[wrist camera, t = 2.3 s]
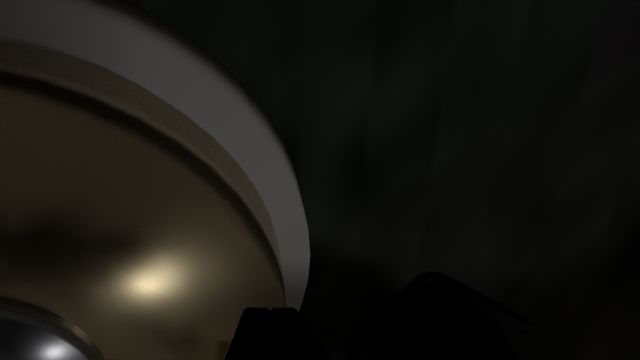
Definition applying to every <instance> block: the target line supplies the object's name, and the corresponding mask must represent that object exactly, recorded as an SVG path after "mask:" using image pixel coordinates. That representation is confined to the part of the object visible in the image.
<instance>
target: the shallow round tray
mask: <svg viewBox="0 0 640 360" xmlns="http://www.w3.org/2000/svg"><path fill="white" fill-rule="evenodd" d="M245 307H267V308H269V310H270V309H271V308H272V307H287V304H286V296H285V289H284V281H283V274H282V266H281V259H280V251H279V244H278V239H277V235H276V232H275V229H274V226H273V223H272V220H271V216H270V214H269V212H268V210H267V208H266V206H265V204H264V202H263V200H262V198H261V196H260V194H259V192H258V190H257V189H256V187H255V186H254V184H253V183H252V182H251V180H250V179H249V177H248V176H247V175H246V173H245V172H244V170H243V169H242V168H241V166H240V165H239V163H238V162H237V161H236V160H235V159H234V158H233V157H232V156H231V155H230V154H229V153H228V152H227V151H226V150H225V149H224V148H223V147H222V146H221V145H220V143H219V142H218V141H217V140H216V139H215V138H214V137H212V136H211V135H210V134H209V133H208V132H206V131H205V130H204V129H203V128H201V127H200V126H199V125H198V124H197V123H195V122H194V121H193V120H192V119H190V118H189V117H188V116H187V115H185V114H184V113H183V112H181V111H180V110H178V109H176V108H175V107H173V106H172V105H170V104H169V103H167V102H165V101H164V100H162V99H161V98H159V97H158V96H156V95H154V94H153V93H151V92H150V91H148V90H146V89H144V88H142V87H140V86H138V85H136V84H134V83H132V82H130V81H128V80H125V79H123V78H121V77H119V76H117V75H115V74H113V73H111V72H109V71H107V70H104V69H102V68H99V67H96V66H93V65H91V64H88V63H85V62H82V61H79V60H77V59H74V58H71V57H68V56H66V55H63V54H60V53H56V52H52V51H48V50H44V49H39V48H35V47H31V46H27V45H23V44H19V43H15V42H11V41H4V40H0V360H223V359H224V356H225V354H226V351H227V349H228V346H229V344H230V341H231V339H232V336H233V334H234V331H235V329H236V326H237V324H238V321H239V319H240V316H241V314H242V312H243V309H244V308H245Z"/></svg>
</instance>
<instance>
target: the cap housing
mask: <svg viewBox="0 0 640 360" xmlns="http://www.w3.org/2000/svg"><path fill="white" fill-rule="evenodd" d="M0 40H4V41H11V42H15V43H19V44H23V45H27V46H31V47H35V48H39V49H44V50H48V51H52V52H56V53H60V54H63V55H66V56H68V57H71V58H74V59H77V60H79V61H82V62H85V63H88V64H91V65H93V66H96V67H99V68H102V69H104V70H107V71H109V72H111V73H113V74H115V75H117V76H119V77H121V78H123V79H125V80H128V81H130V82H132V83H134V84H136V85H138V86H140V87H142V88H144V89H146V90H148V91H150V92H151V93H153V94H154V95H156V96H158V97H159V98H161V99H162V100H164V101H165V102H167V103H169V104H170V105H172V106H173V107H175V108H176V109H178V110H180V111H181V112H183V113H184V114H185V115H187V116H188V117H189V118H190V119H192V120H193V121H194V122H195V123H197V124H198V125H199V126H200V127H201V128H203V129H204V130H205V131H206V132H208V133H209V134H210V135H211V136H212V137H214V138H215V139H216V140H217V141H218V142H219V143H220V145H221V146H222V147H223V148H224V149H225V150H226V151H227V152H228V153H229V154H230V155H231V156H232V157H233V158H234V159H235V160H236V161H237V162H238V163H239V165H240V166H241V168H242V169H243V170H244V172H245V173H246V175H247V176H248V177H249V179H250V180H251V182H252V183H253V184H254V186H255V187H256V189H257V190H258V192H259V194H260V196H261V198H262V200H263V202H264V204H265V206H266V208H267V210H268V212H269V214H270V216H271V220H272V223H273V226H274V229H275V232H276V235H277V239H278V244H279V251H280V259H281V266H282V274H283V281H284V289H285V296H286V304H287V307H294V308H295V309H296V310H297V311H299V309H300V307H301V305H302V301H303V298H304V294H305V290H306V286H307V282H308V275H309V263H310V247H309V236H308V226H307V222H306V217H305V212H304V207H303V203H302V198H301V193H300V189H299V185H298V182H297V178H296V174H295V170H294V166H293V164H292V161H291V159H290V157H289V154H288V152H287V150H286V148H285V145H284V143H283V141H282V138H281V136H280V135H279V133H278V132H277V130H276V129H275V127H274V125H273V124H272V122H271V121H270V119H269V117H268V116H267V114H266V113H265V111H264V109H263V108H262V107H261V106H260V104H259V103H258V102H257V101H256V100H255V99H254V97H253V96H252V95H251V94H250V93H249V91H248V90H247V89H246V88H245V87H244V85H243V84H242V83H241V82H240V81H239V80H238V79H237V78H236V77H235V76H234V75H233V74H232V73H231V72H230V71H228V70H227V69H226V68H225V67H224V66H223V65H222V64H221V63H220V62H219V61H218V60H216V59H215V58H214V57H213V56H212V55H211V54H210V53H208V52H207V51H206V50H204V49H203V48H201V47H200V46H199V45H197V44H196V43H195V42H193V41H192V40H190V39H189V38H188V37H186V36H185V35H183V34H182V33H181V32H179V31H178V30H176V29H175V28H173V27H171V26H169V25H168V24H166V23H164V22H162V21H160V20H159V19H157V18H155V17H153V16H151V15H150V14H148V13H146V12H144V11H142V10H141V9H139V8H137V7H135V6H133V5H131V4H128V3H126V2H123V1H121V0H0Z"/></svg>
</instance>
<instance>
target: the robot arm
mask: <svg viewBox="0 0 640 360" xmlns="http://www.w3.org/2000/svg"><path fill="white" fill-rule="evenodd" d="M532 333H533V327H532V325H531V324H530V322H529V321H528V320H527V319H526V318H524V317H522V316H520V315H518V314H516V313H514V312H512V311H511V310H509V309H507V308H505V307H503V306H501V305H499V304H497V303H496V302H494V301H492V300H490V299H488V298H486V297H484V296H482V295H481V294H479V293H477V292H475V291H473V290H471V289H469V288H467V287H466V286H464V285H462V284H460V283H458V282H456V281H454V280H452V279H451V278H449V277H445V276H444V277H438V278H436V279H434V280H433V281H432V282H431V283H429V284H428V285H427V286H426V287H425V288H424V289H423V290H422V291H421V292H420V293H419V294H417V295H416V296H415V297H414V298H413V299H412V300H411V301H410V302H409V303H408V304H407V305H405V306H404V307H403V308H402V309H401V310H400V311H399V312H398V313H397V314H396V315H394V316H393V317H392V318H391V319H390V320H389V321H388V322H387V323H386V324H385V325H384V326H382V327H381V328H380V329H379V330H378V331H377V332H376V333H375V334H374V335H373V336H372V337H370V338H369V339H368V340H367V341H366V342H365V343H364V344H363V345H362V346H361V347H360V348H358V349H357V350H356V351H355V352H354V353H353V354H352V355H351V356H350V357H349V358H348V360H519V358H518V356H517V354H516V352H515V351H514V349H513V348H515V347H516V346H517V345H518V344H520V343H521V342H522V341H524V340H525V339H526V338H527V337H529V336H530V335H531V334H532ZM223 360H331V359H330V358H329V356H328V355H327V353H326V352H325V350H324V349H323V347H322V346H321V344H320V343H319V341H318V340H317V339H316V337H315V336H314V334H313V333H312V331H311V330H310V328H309V327H308V325H307V324H306V322H305V321H304V319H303V318H302V317H301V315H300V314H299V312H298V311H297V310H296V309H295V308H294V307H272V308H271V309H270V310H269V308H267V307H245V308H244V309H243V312H242V314H241V316H240V319H239V321H238V324H237V326H236V329H235V331H234V334H233V336H232V339H231V341H230V344H229V346H228V349H227V351H226V354H225V356H224V359H223Z"/></svg>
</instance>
